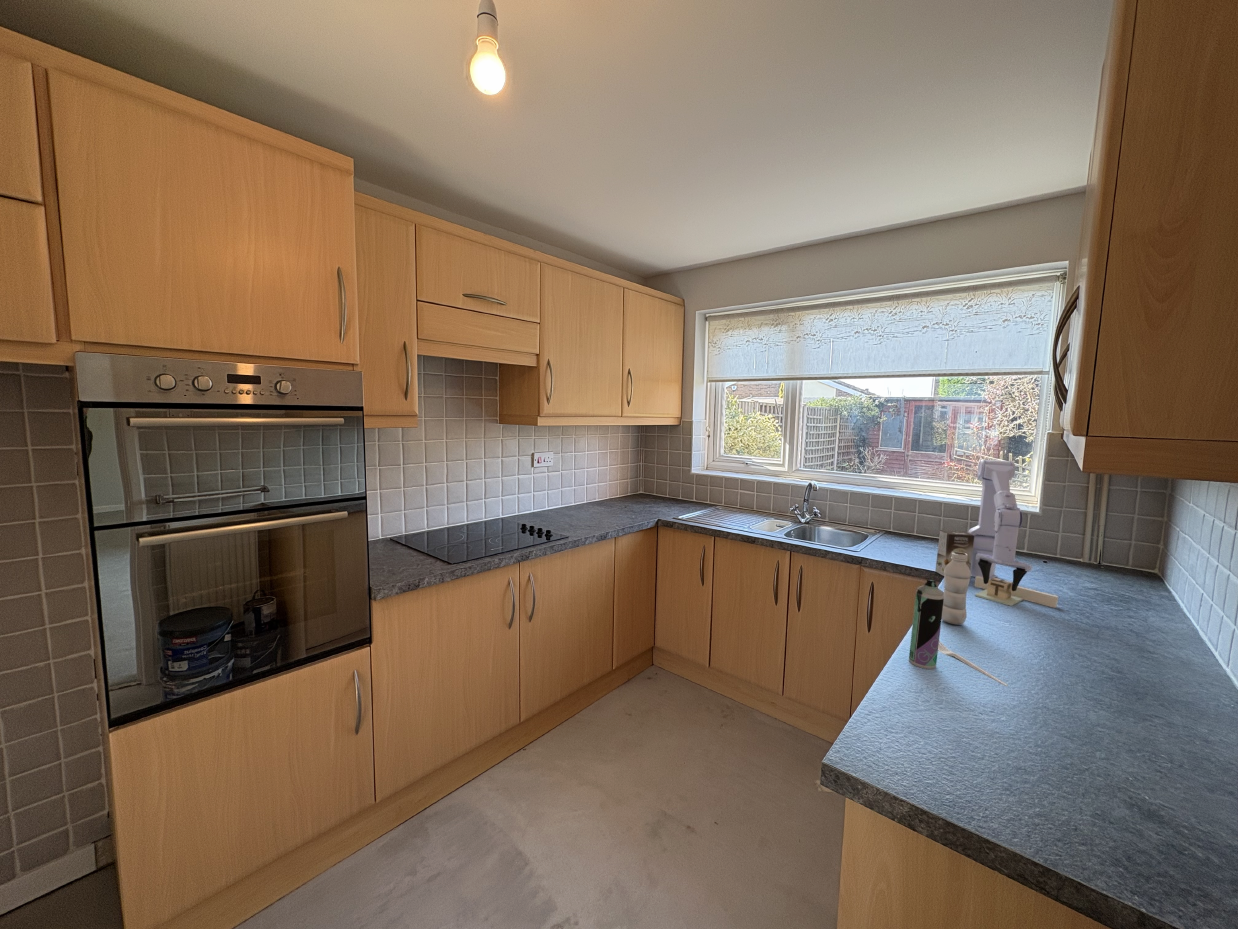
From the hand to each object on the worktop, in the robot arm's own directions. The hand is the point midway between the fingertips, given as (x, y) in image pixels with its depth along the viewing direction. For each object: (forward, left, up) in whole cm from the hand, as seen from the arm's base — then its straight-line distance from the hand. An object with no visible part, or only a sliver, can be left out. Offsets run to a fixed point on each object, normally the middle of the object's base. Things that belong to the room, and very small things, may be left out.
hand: (999, 586), depth 165 cm
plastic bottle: (+37, +1, -4) cm, 38 cm away
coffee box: (-14, -19, -4) cm, 24 cm away
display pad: (0, 0, -4) cm, 4 cm away
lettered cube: (0, 0, -3) cm, 3 cm away
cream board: (-7, +2, -4) cm, 8 cm away
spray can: (+71, +8, -4) cm, 71 cm away
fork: (+61, +13, -4) cm, 63 cm away
